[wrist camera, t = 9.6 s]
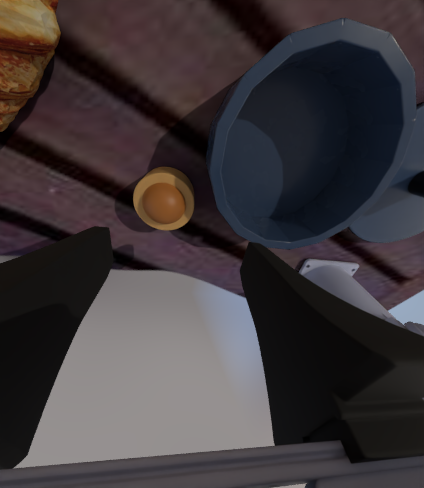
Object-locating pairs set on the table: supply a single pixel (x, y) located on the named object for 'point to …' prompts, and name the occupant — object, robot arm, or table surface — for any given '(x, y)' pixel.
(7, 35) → the croissant
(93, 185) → the table surface
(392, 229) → the lid
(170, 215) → the ball in tan cup
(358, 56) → the pot
